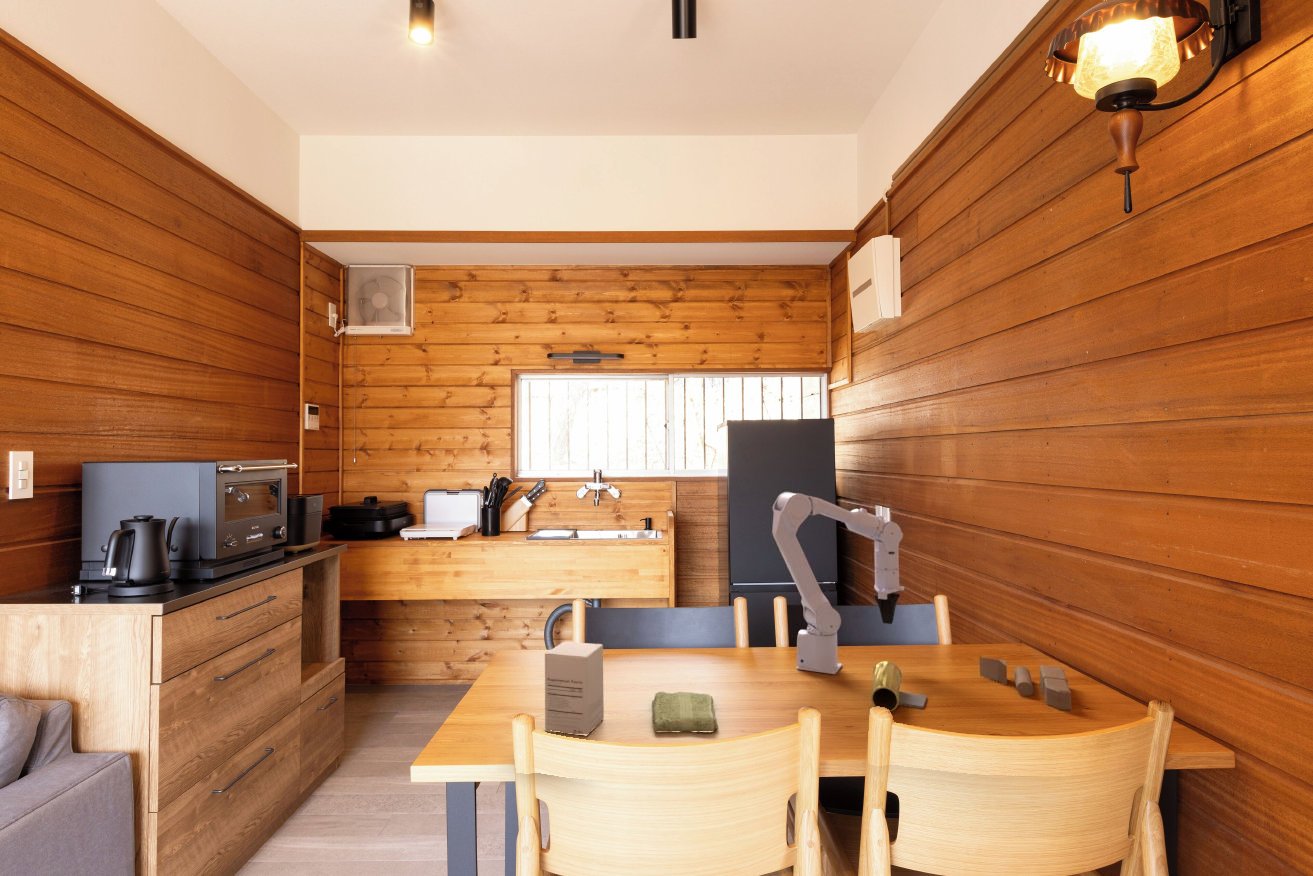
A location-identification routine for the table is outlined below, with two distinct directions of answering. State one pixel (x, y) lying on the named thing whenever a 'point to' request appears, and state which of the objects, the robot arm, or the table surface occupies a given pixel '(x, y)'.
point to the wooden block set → (1050, 681)
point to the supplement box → (574, 687)
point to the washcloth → (683, 712)
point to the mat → (912, 699)
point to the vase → (886, 685)
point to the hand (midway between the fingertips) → (887, 623)
